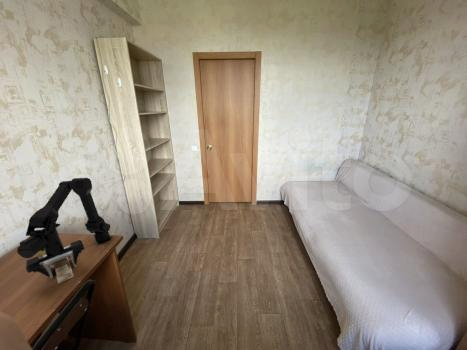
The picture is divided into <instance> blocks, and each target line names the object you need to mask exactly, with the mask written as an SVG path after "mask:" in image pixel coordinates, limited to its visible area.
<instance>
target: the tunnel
mask: <svg viewBox="0 0 467 350" xmlns="http://www.w3.org/2000/svg"><path fill="white" fill-rule="evenodd" d="M70 246H71V245H67V246H63V247H64V249H65V248H68V247H70ZM45 256H47V255H42V258H43V257H45ZM68 256H70V257H69V258H70V259H71V262H72V264H73V267H74V268H76V267H78V266H77V264H76V265H75V263H74V260H73V254H72V251H69V252H67V253H65V254H62V255H60V256H58V257H55V258H53V259H50V260H48V261H45V262H43V265H44V266H45V268H46V269H47V271H48V272H49V275H50V277H49V279H53V278H54V274H53V270H52V267H51V266H52V265H53V264H52V263H54V262H57V261H59V260H61V259H64V258H66V257H68ZM50 264H52V265H50Z"/></svg>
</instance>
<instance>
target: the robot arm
mask: <svg viewBox="0 0 467 350" xmlns="http://www.w3.org/2000/svg"><path fill="white" fill-rule="evenodd" d="M92 189H93V183H92V181H91V179H90V178H89V177H74V178H72V179H71V180H63V181H60V182H59V183H58V187H57V188H56V189H55V191H54V192H53V193H52V195H51V196H50V197H49V199H48V200H47V202H46V204H45V205H44V206H43V207H41V208H40V209H38V210H36V211H35V212H34V213H33V215H31V217H30V218H29V220H28V225H27V229H26V232H25V236H26V237H27V238H26V239H24V240H23V239H22V240H21V241H20V242H19V246H18V247H17V248H16V249H17V251H16V253H17V254H18V255H19V256H20V257H22V258H24V259H27V260H26V261H25V270H26V272H27V273H32V272H33V273H36V272H37V273H40V274H42V275H44V276H45V277H48V278H50V275H49V272H48V271H47V269H46V267H45V265H44V262H45V261H48V260H50V259H53V258H55V257H58V256H60V255H62V254H65V253H67V252H69V251H72V254H73V260H74V263H75V265H77V261H78V258H79V255H80V253H82V251H83V250H85V247H84V243H83V241H82V240H81V239H78V240H75V241H71V243H70V242H69V243H70V245H69V246H70V247H68V248H65V249H64V247H65V246H64V245H63V242H62V240H61V237H60V234H59V232H58V230H57V228H59V227H60V226H61V224H60V223H57V221H58V219H59V217H60V216H59V211H60V210H61V207H62V206H63V204H64V202H65V201H66V200H67V198H68V196H69V195H70V193H71V192H73V193H74V194H76V195H77V196H78V197H79V199H80V202H81V204H82V207H83V210H84V213H85V214H86V217H87V221H86V223H84V226H85V228H86V231H88V232H90V234H93V238H94V241H95V242H96V243H97V244H98V245H101V244H103V243H106V242H108V241H110V240H112V237H111V236H110V234H109V233H110V232H109V231H110V229H111V224H110V223H107V222H106V221H105V219H104V217H102V216H101V215H99V212H98V210H97V207H96V204H95V202H94V198H93V196H92V193H91V192H92ZM40 250H41V251H44V250H45V252H46V255H47V256H45V257H43V256H42V257H41V258H40V257H39V255H37V254H38V253H39V252H40ZM35 255H37V256H35ZM34 256H35V257H34Z"/></svg>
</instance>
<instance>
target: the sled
mask: <svg viewBox="0 0 467 350" xmlns="http://www.w3.org/2000/svg"><path fill="white" fill-rule="evenodd" d="M52 265H53V267H54V270H55V271H54V273H55V277H56V280H57V284H58V285H59V284H62V283H64V282H66V281H68V280H70V279H72V278H74V277H75V276H74V273H73V272H74V271H73V270H72V267H71V264H70V261H69V258H67V257H66V258H64V259H61V260H59V261H57V262H54V263H53V264H52Z"/></svg>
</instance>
